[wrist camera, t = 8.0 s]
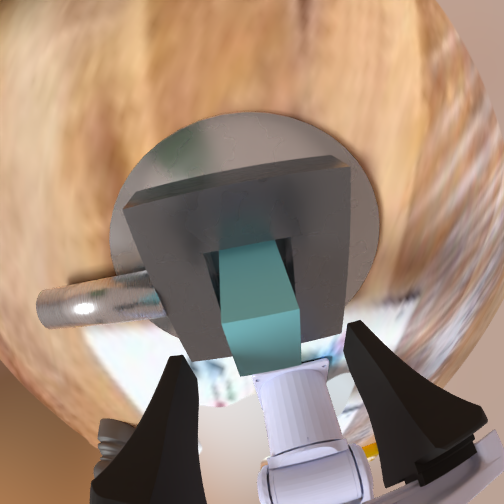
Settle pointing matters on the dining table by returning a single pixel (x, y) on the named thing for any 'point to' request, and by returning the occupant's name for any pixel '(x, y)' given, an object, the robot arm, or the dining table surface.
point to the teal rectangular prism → (259, 309)
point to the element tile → (371, 451)
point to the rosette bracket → (229, 229)
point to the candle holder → (111, 441)
